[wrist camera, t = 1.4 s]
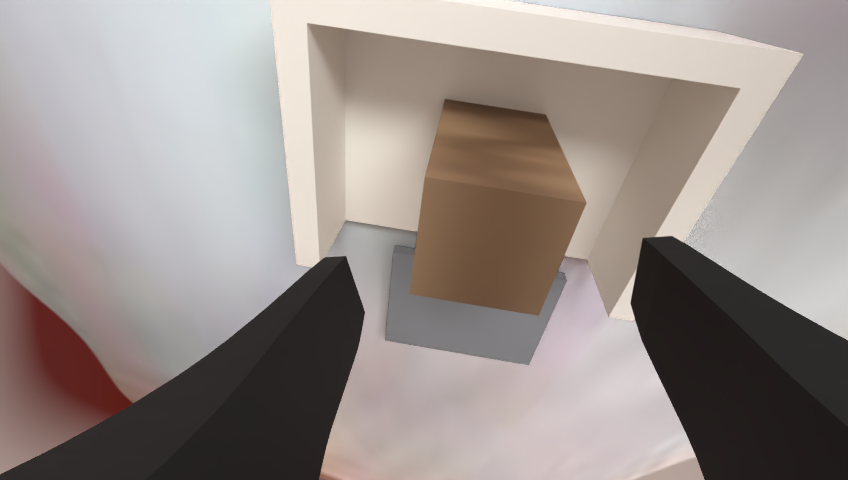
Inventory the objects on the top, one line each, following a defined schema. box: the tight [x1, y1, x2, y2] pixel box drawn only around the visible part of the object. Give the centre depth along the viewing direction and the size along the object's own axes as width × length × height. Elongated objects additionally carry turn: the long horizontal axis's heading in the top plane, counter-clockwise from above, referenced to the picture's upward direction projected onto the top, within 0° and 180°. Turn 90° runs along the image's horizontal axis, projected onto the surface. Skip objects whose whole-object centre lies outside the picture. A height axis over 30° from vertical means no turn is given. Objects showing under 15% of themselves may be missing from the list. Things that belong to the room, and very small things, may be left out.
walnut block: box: [409, 99, 587, 316], centre depth 13 cm, size 4×4×7 cm
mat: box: [385, 245, 567, 365], centre depth 22 cm, size 9×7×1 cm
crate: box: [270, 0, 804, 321], centre depth 15 cm, size 14×10×4 cm
